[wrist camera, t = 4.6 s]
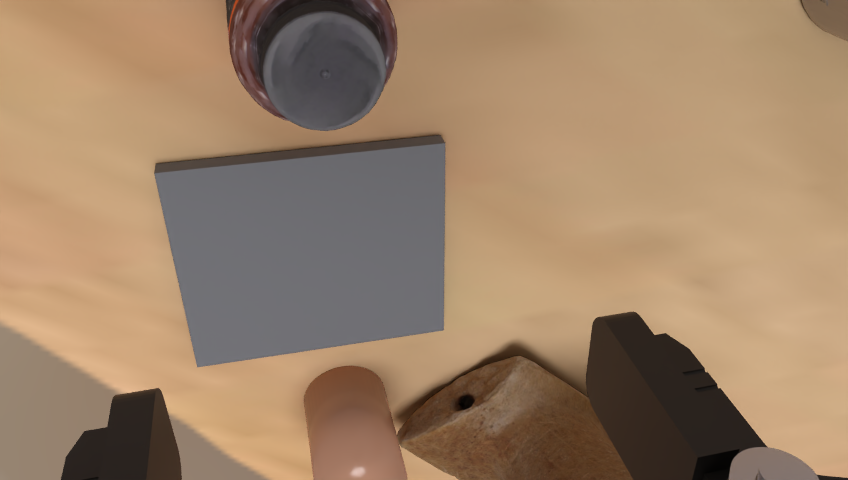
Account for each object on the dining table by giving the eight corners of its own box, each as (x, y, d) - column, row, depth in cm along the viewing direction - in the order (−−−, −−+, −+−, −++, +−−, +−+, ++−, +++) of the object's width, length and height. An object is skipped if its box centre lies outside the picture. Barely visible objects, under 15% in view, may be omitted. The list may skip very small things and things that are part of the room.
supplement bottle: (212, 33, 34) (209, 138, 24) (240, -106, 31) (248, -49, 22) (341, 66, 36) (384, 174, 26) (378, -62, 33) (440, 8, 24)
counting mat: (440, 135, 39) (445, 143, 38) (439, 319, 45) (443, 330, 44) (155, 164, 36) (154, 173, 35) (197, 355, 43) (197, 367, 42)
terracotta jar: (383, 360, 46) (406, 446, 40) (385, 419, 49) (408, 508, 43) (300, 373, 45) (311, 463, 39) (307, 432, 48) (319, 525, 42)
